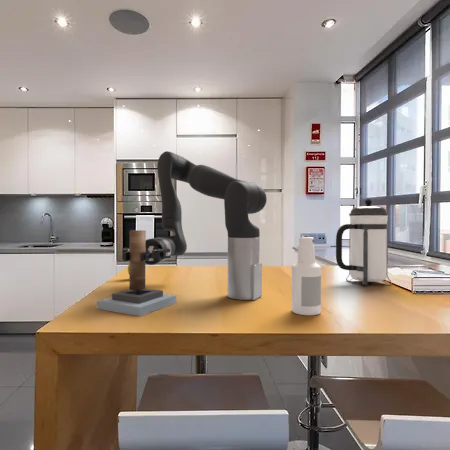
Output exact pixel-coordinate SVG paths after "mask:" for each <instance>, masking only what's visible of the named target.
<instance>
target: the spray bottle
mask: <svg viewBox="0 0 450 450" xmlns="http://www.w3.org/2000/svg"><path fill="white" fill-rule="evenodd" d="M314 240H315V238H314V237H311V236H310V237H309V236H303V237H300V236H299V239H298V246H297V250H298V251H297V262H295V263H294V264H293V265H291V311H292V313H294V314H297V315H301V316H317V315H320V314H321V312H322V311H321V310H322V267H321V265H320V264H318V263H317V262H316V251H315V249H316V248H315V241H314Z"/></svg>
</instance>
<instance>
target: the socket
mask: <svg viewBox="0 0 450 450" xmlns="http://www.w3.org/2000/svg"><path fill="white" fill-rule="evenodd" d="M176 303H177V295H175V294H170V293H169V294H168V293H164V291H163V290H160V289H159V290H158V289H152V288H151V289H150V288H145V289H143V290H130V289H125V290H122V291H119V292H115V293H111V296H110V297H106V298H104V299H99V300H97V301H96V309H97V310H102V311H108V312H113V313H120V314H127V315H132V316H138V317H142V316H145V315H148V314H150V313H153V312H156V311H158V310H161V309H163V308H166V307H169V306H171V305H172V306H173V305H174V304H176Z"/></svg>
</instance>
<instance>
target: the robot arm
mask: <svg viewBox="0 0 450 450" xmlns="http://www.w3.org/2000/svg"><path fill="white" fill-rule="evenodd" d="M156 168H157V170H156V171H157V176H158V183H159V191H160V192H159V193H160V198H161V228H162V229H163V230H164V231H167V232H173V233H174V234H175V235H166V236H159V237H152V238H149V239H148V238H147V239H146V252H142V253H141V261H143V262H144V261H145V265H149V266H150V265H151V266H152V265H153V266H154V265H157V264H159V263H161V262H164V261H166V260H167V259H168V260H169V259H170V258H171V257H173V256H176V257H177V256H183V255H184V254H185V253H186V251H187V249H188V248H187V246H188V245H187V240H186V237H185V235H184V230H183V223H182V219H183V218H182V216H183V215H182V206H181V202H180V200H179V197H178V195H177V193H176V191H175V188H174V185H173V182H172V180H175V181H179V182H182V183H187V184H189V186H190V187H191V188H192V189H193V190H194V191H196V192H198V193H199V194H202V195H204V196H206V197H210V198H214V199H215V198H216V199H219V200H224V201H223V203H224V204H223V205H224V223H225V228H226V230H227V297H228V298H230V299H233V300H241V301H242V300H247V301H248V300H249V301H250V300H251V301H255V300H257V299H259V298H260V297H262V296H263V264H262V262H260V245H261V244H260V237H261V236H260V228H259V227H258V226H257V225H254V224H253V223H252V222H251V221H250V218H249V215H251V214H256V213H259V212H261V211H262V210H263V209H264V208H265V206H266V205H267V200H268V198H267V194H266V192H265V190H264V188H263V187H262V186H261V185H259V184H258V183H256V182H249V181H245V180H240V179H237V178H235V177H233V176H231V175H230V174H229V175H228V174H226V173H224V172H222V171H220V170H218V169H216V168H214V167H211V166H209V165H205V164H195V163H194V162H191V161H190V160H189V159H187V158H185V157H184V156H181V155H179V154H177V153H175V152H172V151H167V150H166V151H163V153H161V154H160V155H159V157H158V160H157V167H156ZM121 258H122V260H123V261H124V262H127V261H128V262H129V261H130V248H129V247H123V249H122V250H121Z"/></svg>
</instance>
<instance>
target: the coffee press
mask: <svg viewBox="0 0 450 450" xmlns="http://www.w3.org/2000/svg"><path fill="white" fill-rule="evenodd" d="M372 202H373V201H372V199H370V198H367V199H365V201H364V203H365V205H363V206H361V205H360V206H356V207H353V208H352V209H351V211H350V212H349V213H348V216H349V219H350V220H349V223H350V224H349V223H346V224H343V225H341V226H339V228H338V229H337V231H336V237H335V260H336V265H337V266H338V267H339V268H340V269H341V270H344V271H349V272H348V276H347V277H346V278H345V281H346V282H347V281H349V282H351V281H352V280H355V281H356V280H357V281H360V282H361V281H362V287H368V284H369V282H370V283H371V282H373V283H375V282H377V283H378V282H383V283H385V285H386V286H391V285H392V281H391V279H390V277H389V276H388V275H389V274H388V273H389V270H388V267H389V265H388V263H389V260H388V259H389V257H388V256H389V250H388V249H389V248H388V247H389V231H388V230H389V224H388V219H389V218H388V217H389V213H388V211H387V208H385V207H383V206H379V205H372ZM347 230H349V255H348V256H349V258H348V259H349V265H348V264H345V263H344V262H343V234H344V232H345V231H347ZM349 276H350V278H351V279H350V280H348V278H349ZM386 279H388V281H389V282H390V283H387V281H386Z"/></svg>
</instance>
